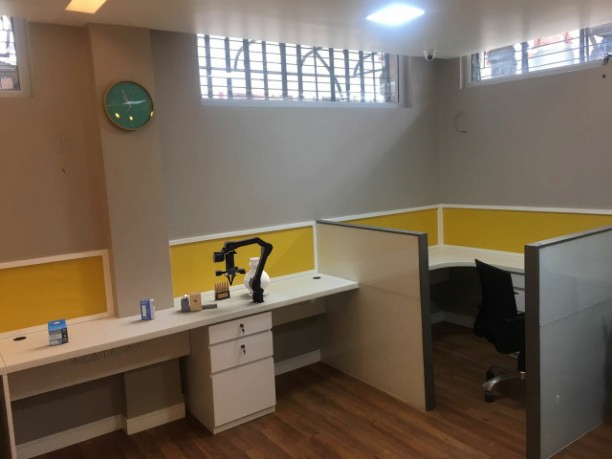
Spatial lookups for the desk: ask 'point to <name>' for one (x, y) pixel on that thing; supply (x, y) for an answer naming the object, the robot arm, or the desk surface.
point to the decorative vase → (253, 264)
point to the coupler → (186, 307)
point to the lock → (195, 301)
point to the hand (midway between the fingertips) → (230, 285)
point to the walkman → (147, 309)
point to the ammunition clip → (222, 291)
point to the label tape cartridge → (57, 332)
